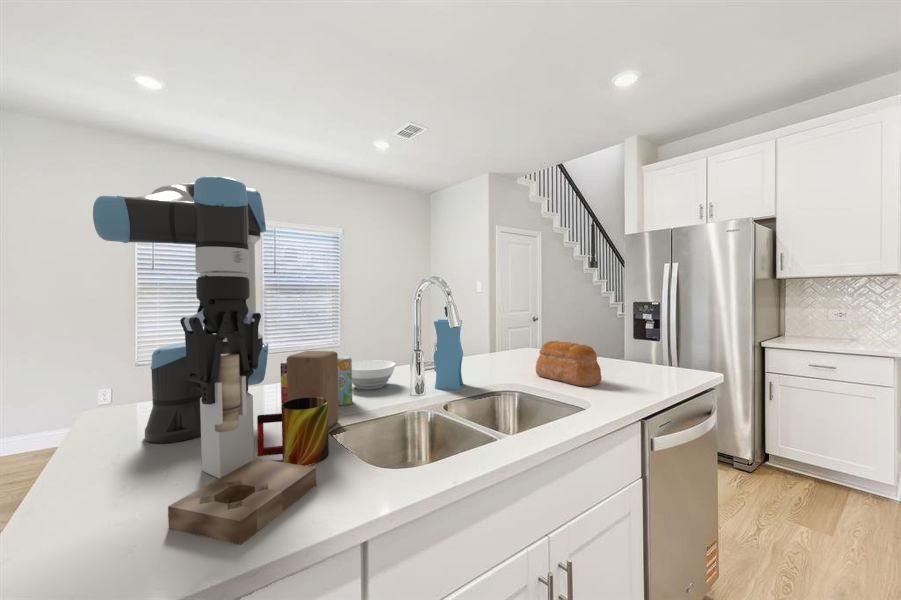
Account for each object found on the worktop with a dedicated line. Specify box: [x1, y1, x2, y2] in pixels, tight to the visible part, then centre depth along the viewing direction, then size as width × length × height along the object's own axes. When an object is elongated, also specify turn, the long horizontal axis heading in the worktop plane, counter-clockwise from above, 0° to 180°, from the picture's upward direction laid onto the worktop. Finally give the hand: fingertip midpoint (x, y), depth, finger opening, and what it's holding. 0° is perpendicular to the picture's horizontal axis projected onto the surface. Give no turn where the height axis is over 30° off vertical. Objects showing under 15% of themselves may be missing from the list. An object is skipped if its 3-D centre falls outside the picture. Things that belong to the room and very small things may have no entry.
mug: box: [256, 397, 330, 466], centre depth 87 cm, size 10×14×12 cm
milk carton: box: [200, 392, 255, 479], centre depth 82 cm, size 7×7×19 cm
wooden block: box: [286, 350, 340, 429], centre depth 106 cm, size 10×10×20 cm
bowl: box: [352, 359, 396, 391], centre depth 151 cm, size 20×20×8 cm
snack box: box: [280, 355, 353, 411], centre depth 126 cm, size 21×6×15 cm, turn 108°
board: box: [167, 458, 317, 545], centre depth 68 cm, size 14×18×4 cm
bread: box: [535, 340, 602, 388], centre depth 160 cm, size 14×26×15 cm, turn 34°
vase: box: [433, 318, 464, 391], centre depth 150 cm, size 10×10×25 cm
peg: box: [215, 353, 240, 432], centre depth 65 cm, size 4×4×12 cm
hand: (226, 418), depth 65 cm, fingers closed on peg, 4 cm apart
